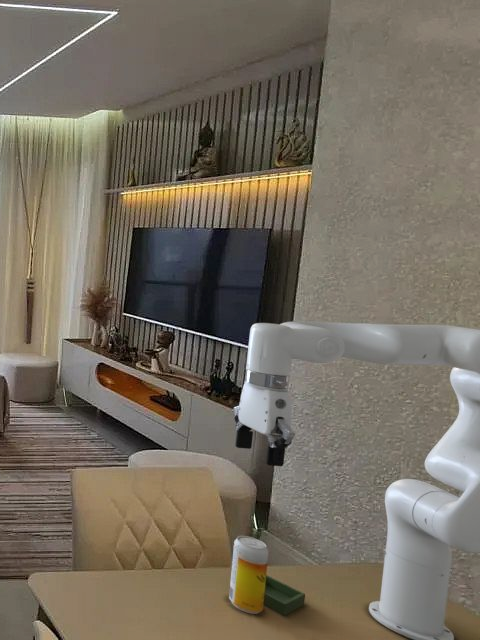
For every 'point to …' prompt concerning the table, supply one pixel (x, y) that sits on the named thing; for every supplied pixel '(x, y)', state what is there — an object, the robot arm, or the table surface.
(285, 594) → the can tray
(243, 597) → the beer can
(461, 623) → the table surface
